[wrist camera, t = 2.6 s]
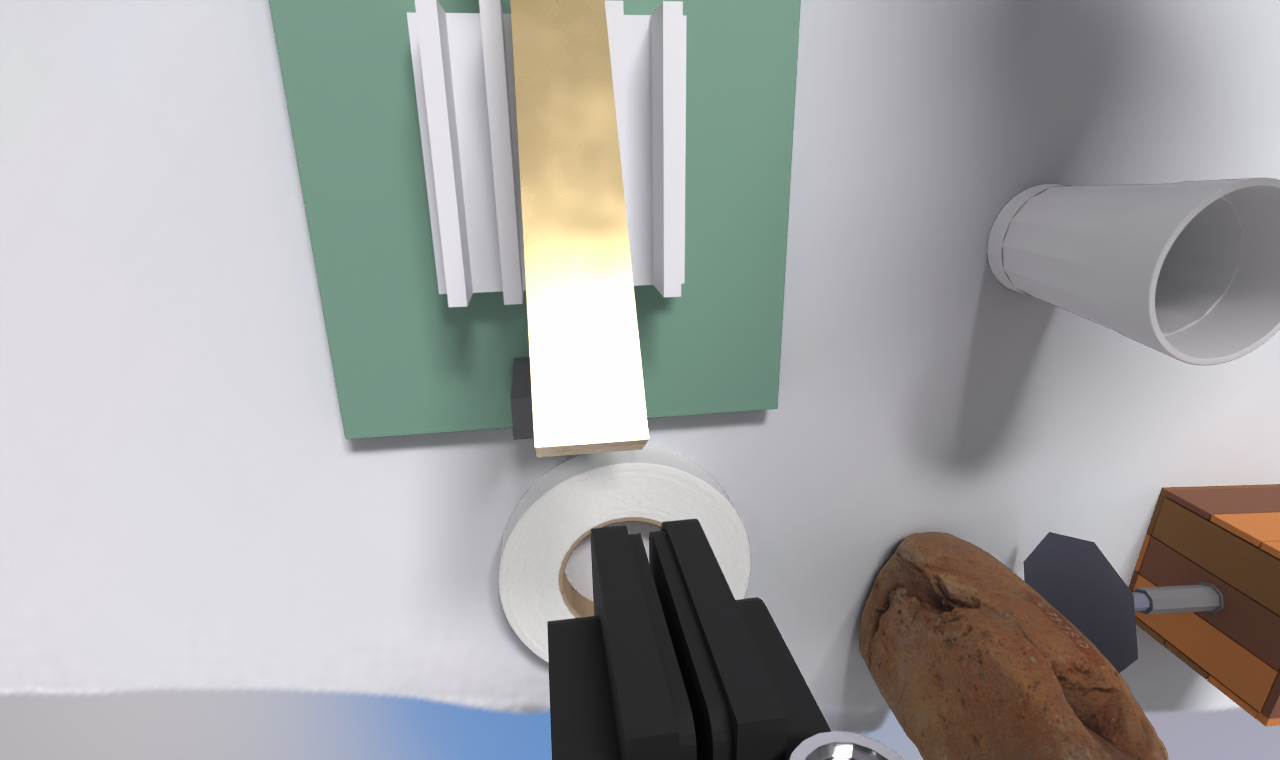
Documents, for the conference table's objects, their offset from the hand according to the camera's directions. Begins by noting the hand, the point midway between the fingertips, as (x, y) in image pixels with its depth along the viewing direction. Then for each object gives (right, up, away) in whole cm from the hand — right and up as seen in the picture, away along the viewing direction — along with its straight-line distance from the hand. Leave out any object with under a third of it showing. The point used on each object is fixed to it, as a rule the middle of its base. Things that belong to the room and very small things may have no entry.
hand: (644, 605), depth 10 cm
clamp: (+37, -9, +39) cm, 54 cm away
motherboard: (-4, +15, +24) cm, 28 cm away
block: (+19, -11, +37) cm, 43 cm away
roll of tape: (-1, -8, +33) cm, 33 cm away
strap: (-3, +12, +12) cm, 17 cm away
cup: (+23, +12, +29) cm, 39 cm away
